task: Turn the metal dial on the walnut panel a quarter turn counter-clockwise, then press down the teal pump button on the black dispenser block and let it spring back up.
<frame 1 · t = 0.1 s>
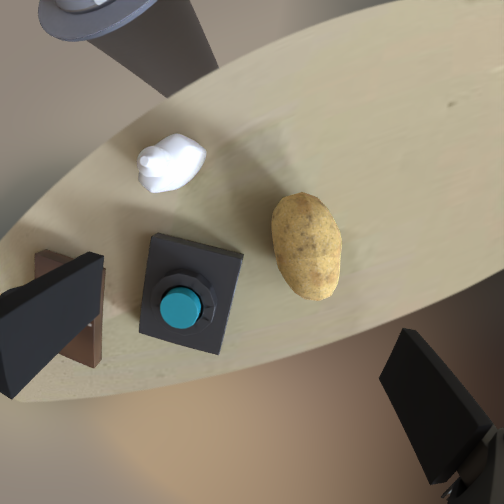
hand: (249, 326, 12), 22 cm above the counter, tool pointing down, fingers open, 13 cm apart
dial panel: (72, 306, 37), on the counter
pump: (180, 307, 32), point 4 cm above the counter, slide at 0.1 cm
dispenser: (189, 292, 36), on the counter
potato: (304, 241, 34), on the counter
eye dropper bottle: (184, 165, 33), on the counter
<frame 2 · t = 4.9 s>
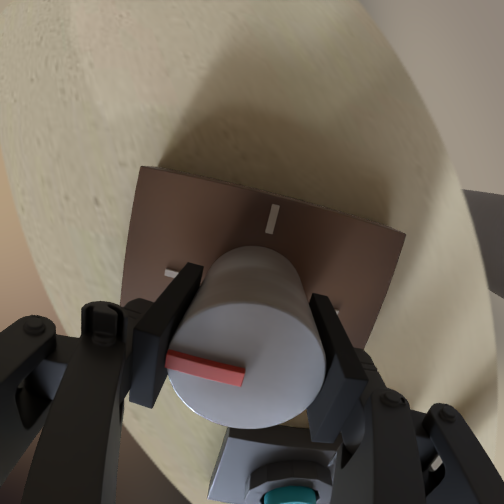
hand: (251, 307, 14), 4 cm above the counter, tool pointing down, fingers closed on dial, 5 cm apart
dial: (249, 326, 12), point 6 cm above the counter, hinge at 0.0°, touching gripper
dial panel: (254, 278, 18), on the counter
dispenser: (287, 464, 22), on the counter
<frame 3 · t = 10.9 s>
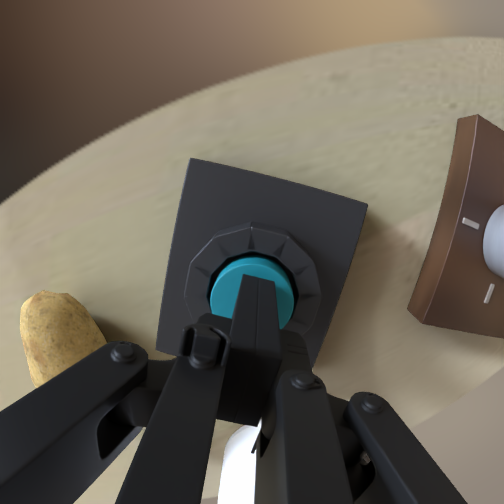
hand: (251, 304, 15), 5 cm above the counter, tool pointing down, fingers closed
dial panel: (486, 233, 18), on the counter
pump: (252, 297, 16), point 4 cm above the counter, slide at -0.3 cm, touching gripper
dispenser: (254, 273, 20), on the counter
potato: (90, 342, 22), on the counter
eye dropper bottle: (255, 434, 23), on the counter
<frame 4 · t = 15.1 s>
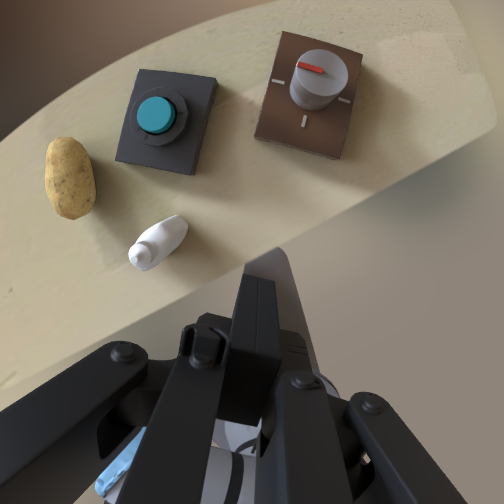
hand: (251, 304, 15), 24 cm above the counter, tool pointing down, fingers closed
dial: (316, 81, 28), point 6 cm above the counter, hinge at 89.2°
dial panel: (308, 95, 34), on the counter
pump: (156, 115, 31), point 4 cm above the counter, slide at 0.1 cm
dispenser: (167, 121, 36), on the counter
potato: (82, 176, 38), on the counter
eye dropper bottle: (170, 234, 39), on the counter
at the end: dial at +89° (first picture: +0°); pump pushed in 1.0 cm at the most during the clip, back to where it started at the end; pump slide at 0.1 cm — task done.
